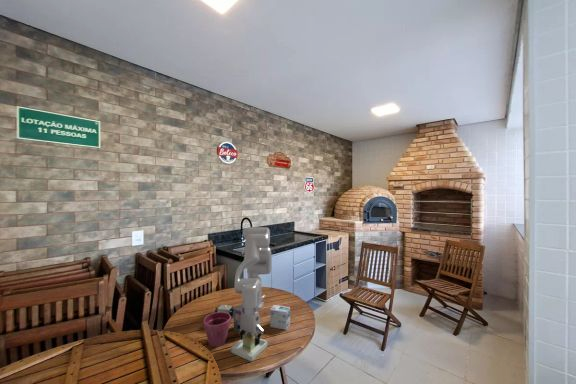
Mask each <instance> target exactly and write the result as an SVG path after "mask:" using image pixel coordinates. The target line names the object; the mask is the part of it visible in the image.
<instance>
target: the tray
mask: <svg viewBox="0 0 576 384" xmlns="http://www.w3.org/2000/svg"><path fill="white" fill-rule="evenodd" d="M268 347H269V341H268V340H265V339H262V338H260V343H259V344H258V345H257V347H256V348H255V349H254V350H252V351H251V352H249V351H246V350H244V349H243V339H242V340H240V339H239V340H238V341H237V342H235V344H233V345H232V346H231V347H230V353H232V354H234V355H237V356H238V357H241V358H243V359H244V360H247V361H249V362H251V363H252V362H253V361H254V360H255V359H256V358H258V357H259V355H260V354H261V353H263V352H264V350H265V349H267V348H268Z"/></svg>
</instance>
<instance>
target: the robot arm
mask: <svg viewBox="0 0 576 384" xmlns="http://www.w3.org/2000/svg"><path fill="white" fill-rule="evenodd" d="M242 235H243V237H244V239H245V243H244V244H245V245H244V259H243V261H242V262H241V263H240V264H239V265H238V267H237V268H236V271H235V276H234V291H235V292H236V294H241V295H242V296H241V297H242V298H241V299H242V301H241V304H242V311H241V317H240V320H238V321H236V323H237V325H238V326H237V327H238V329H239V332H240V334H239V340H242V339H243V335H244V334H245V331H247V332H249V333H252V334H254V335H255V337H256V338H255V346H257V345H258V344H259V343H260V339H261V338H260V337H261V336H263V334H264V332H265V329H264V328H262V327H261V318H260V312H259V310H260V309H261V308H263V307H264V302H263V299H265V297H266V295H262V279H261V277H260V276H259V275H269V274H270V273H271V272H272V250H271V248H270V244H271V243H270V242H271V230H270V228H269V227H267V226H265V227H264V226H263V227H262V226H259V227H258V226H257V227H256V226H251V227H247V226H246V227H244V228H243V229H242ZM244 270H246V275H247V277H246V278H241V275H242V273H243V272H244ZM256 333H257V334H256Z"/></svg>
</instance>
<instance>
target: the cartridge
mask: <svg viewBox="0 0 576 384" xmlns="http://www.w3.org/2000/svg"><path fill="white" fill-rule="evenodd" d="M256 334H257V332H256ZM257 335H258V334H257ZM255 338H256V337H255V335H254V334H252V333H249V332H246V333H245V334H244V335H243V349H244V350H246V351H249V352H251V351H252V350H254V349H255V348H256V347H257V346H255Z"/></svg>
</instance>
